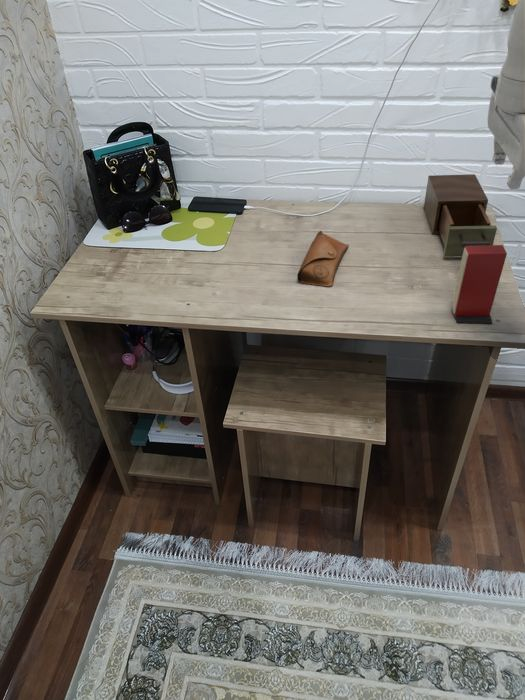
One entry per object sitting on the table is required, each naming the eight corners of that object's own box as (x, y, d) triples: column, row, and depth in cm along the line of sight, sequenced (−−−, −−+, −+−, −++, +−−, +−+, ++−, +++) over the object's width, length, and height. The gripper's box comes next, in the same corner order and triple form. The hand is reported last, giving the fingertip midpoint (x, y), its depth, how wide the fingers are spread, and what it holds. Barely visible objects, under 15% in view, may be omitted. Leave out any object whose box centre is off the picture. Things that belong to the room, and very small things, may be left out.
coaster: (485, 303, 121) (486, 301, 120) (492, 324, 115) (492, 322, 115) (451, 302, 121) (452, 300, 121) (456, 323, 116) (457, 321, 116)
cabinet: (480, 233, 141) (488, 200, 134) (432, 234, 141) (438, 201, 135) (468, 206, 151) (475, 174, 144) (423, 207, 151) (428, 175, 145)
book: (485, 306, 119) (502, 244, 109) (489, 315, 117) (507, 253, 107) (450, 307, 119) (464, 245, 109) (453, 316, 117) (467, 254, 107)
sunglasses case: (334, 286, 127) (319, 262, 124) (307, 295, 131) (292, 272, 128) (350, 243, 139) (337, 221, 136) (325, 253, 143) (312, 231, 140)
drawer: (494, 266, 129) (502, 238, 124) (447, 267, 129) (453, 239, 124) (477, 227, 141) (483, 201, 136) (434, 228, 142) (439, 202, 137)
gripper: (569, 116, 83) (542, 202, 92) (526, 71, 98) (507, 150, 107) (525, 117, 83) (503, 203, 93) (489, 73, 99) (473, 151, 108)
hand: (505, 174), depth 100 cm, fingers open, 8 cm apart
